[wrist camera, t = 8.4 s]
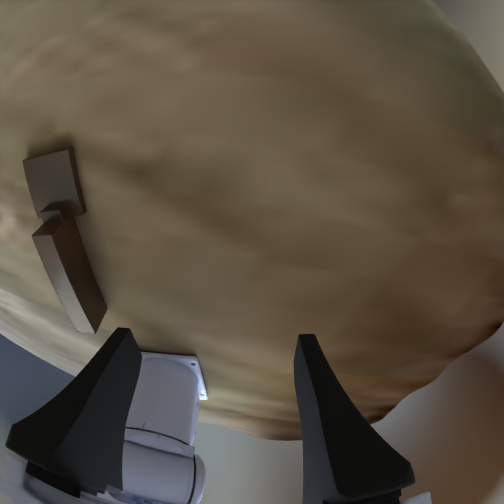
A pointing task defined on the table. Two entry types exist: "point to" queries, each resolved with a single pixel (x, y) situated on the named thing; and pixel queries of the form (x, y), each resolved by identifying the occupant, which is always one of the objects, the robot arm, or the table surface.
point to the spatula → (64, 236)
